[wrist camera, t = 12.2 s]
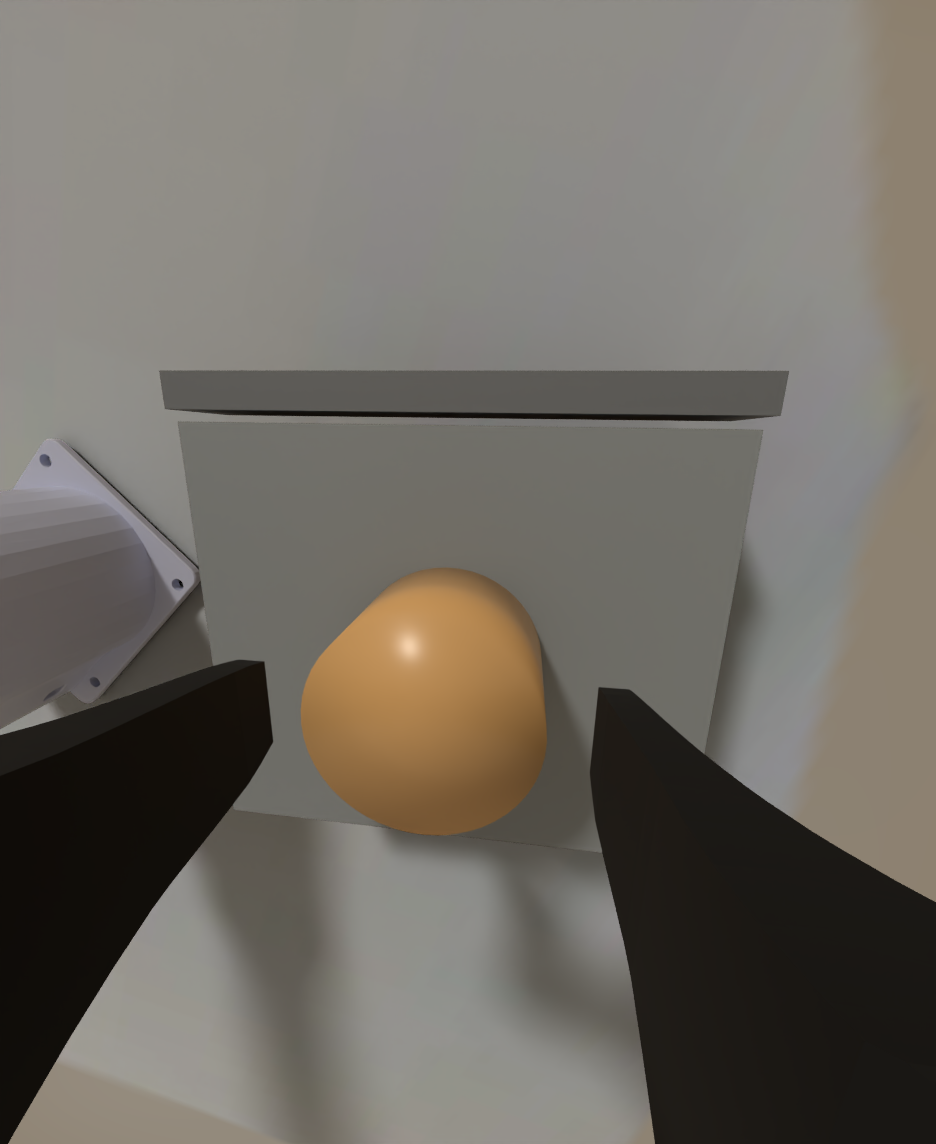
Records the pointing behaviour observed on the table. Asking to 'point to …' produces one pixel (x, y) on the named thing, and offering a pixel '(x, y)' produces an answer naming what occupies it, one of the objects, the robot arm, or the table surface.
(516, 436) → the lid
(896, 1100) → the robot arm
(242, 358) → the table surface
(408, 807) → the orange rounded block
